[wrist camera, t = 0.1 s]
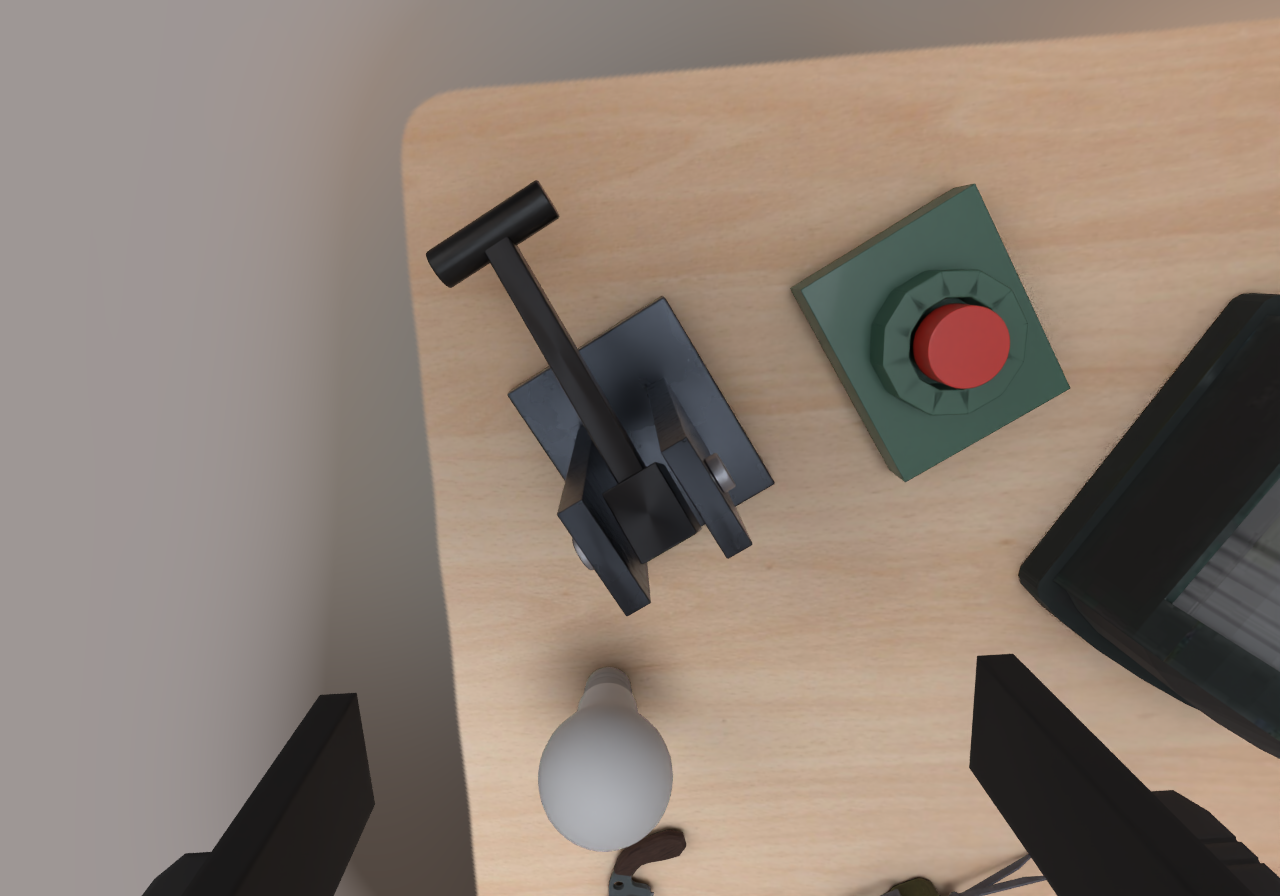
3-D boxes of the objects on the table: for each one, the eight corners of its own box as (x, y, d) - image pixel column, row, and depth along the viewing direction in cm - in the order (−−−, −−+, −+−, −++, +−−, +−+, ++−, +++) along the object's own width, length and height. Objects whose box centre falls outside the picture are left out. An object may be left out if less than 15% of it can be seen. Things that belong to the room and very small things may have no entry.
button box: (789, 288, 36) (810, 291, 32) (953, 187, 35) (995, 178, 31) (889, 470, 39) (919, 493, 35) (1045, 381, 38) (1094, 394, 34)
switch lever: (441, 263, 29) (414, 243, 27) (547, 194, 29) (528, 167, 26) (619, 576, 27) (606, 585, 25) (735, 509, 27) (733, 512, 24)
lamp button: (898, 330, 33) (913, 334, 31) (970, 287, 33) (989, 289, 31) (933, 397, 34) (949, 404, 32) (1003, 356, 34) (1024, 361, 32)
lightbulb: (539, 708, 42) (511, 863, 31) (575, 615, 40) (558, 743, 30) (640, 739, 42) (647, 901, 32) (678, 649, 41) (699, 786, 30)
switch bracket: (510, 390, 37) (448, 463, 24) (662, 295, 36) (687, 315, 23) (625, 562, 39) (627, 716, 26) (770, 477, 38) (851, 592, 25)
